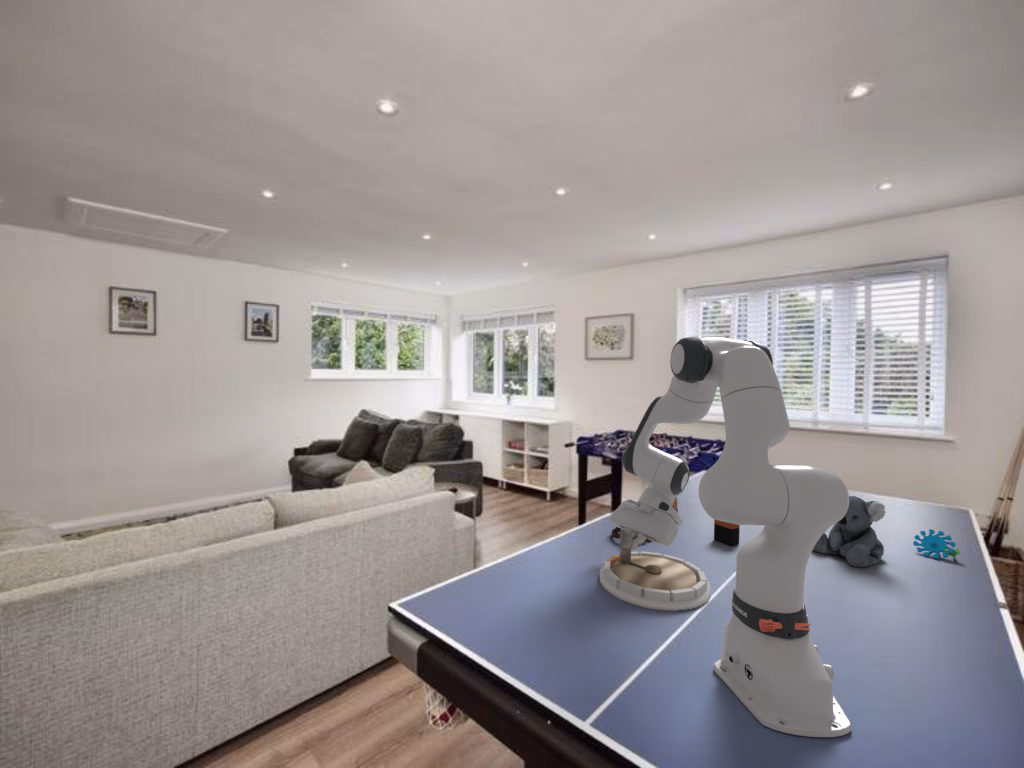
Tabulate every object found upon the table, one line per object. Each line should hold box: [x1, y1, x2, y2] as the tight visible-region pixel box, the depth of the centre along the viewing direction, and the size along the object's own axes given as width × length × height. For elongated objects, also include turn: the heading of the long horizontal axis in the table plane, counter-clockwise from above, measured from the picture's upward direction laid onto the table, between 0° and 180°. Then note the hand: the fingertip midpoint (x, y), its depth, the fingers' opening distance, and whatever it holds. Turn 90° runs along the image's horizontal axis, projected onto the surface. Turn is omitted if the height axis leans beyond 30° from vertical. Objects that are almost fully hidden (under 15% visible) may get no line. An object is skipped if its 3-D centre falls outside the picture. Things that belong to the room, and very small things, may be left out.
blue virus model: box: [912, 528, 961, 560], centre depth 147 cm, size 11×6×10 cm
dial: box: [613, 528, 696, 593], centre depth 124 cm, size 21×21×10 cm
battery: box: [713, 519, 741, 547], centre depth 156 cm, size 4×7×10 cm, turn 29°
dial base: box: [599, 550, 712, 612], centre depth 124 cm, size 28×28×4 cm
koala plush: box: [813, 495, 887, 569], centre depth 146 cm, size 17×18×20 cm
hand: (629, 546), depth 131 cm, fingers closed
